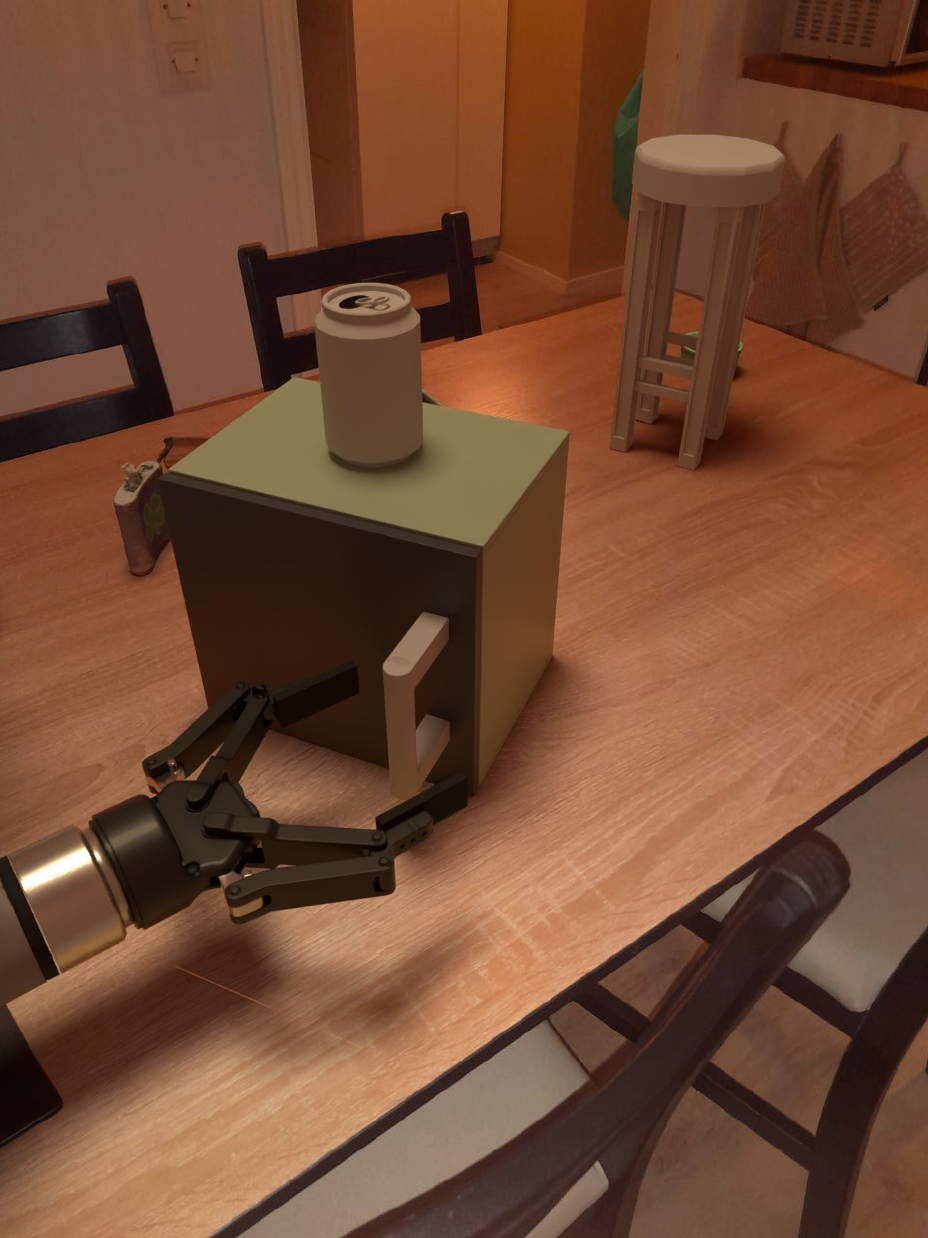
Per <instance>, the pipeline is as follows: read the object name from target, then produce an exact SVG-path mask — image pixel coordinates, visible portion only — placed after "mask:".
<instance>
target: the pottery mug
mask: <svg viewBox="0 0 928 1238" xmlns="http://www.w3.org/2000/svg"><path fill="white" fill-rule="evenodd" d="M212 437H213V436H197V435H196V436H194V435H193V436H192V435H190V436H168V437H165V438H164V439H163V441H162V442H163V443H164V445H165V447H164V448H163V449H162V450H161V451H160V453H159V454H158V457H157V458H156V462H159V463H160V464H161V463H162V462H163V463H164V468H166V470H168V469H169V468H170V467H172V466H173V465H175V464H176V463H177V462H179V461H180V460H181V459H183V458H184V457H186V456H187V455H188V454H190V453H191V452H192V451H194V450H195V449H196V448H198V447H199V446H201V445H202V444H203V443H205V442H206V441H207V440H209V439H210V438H212Z"/></svg>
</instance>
